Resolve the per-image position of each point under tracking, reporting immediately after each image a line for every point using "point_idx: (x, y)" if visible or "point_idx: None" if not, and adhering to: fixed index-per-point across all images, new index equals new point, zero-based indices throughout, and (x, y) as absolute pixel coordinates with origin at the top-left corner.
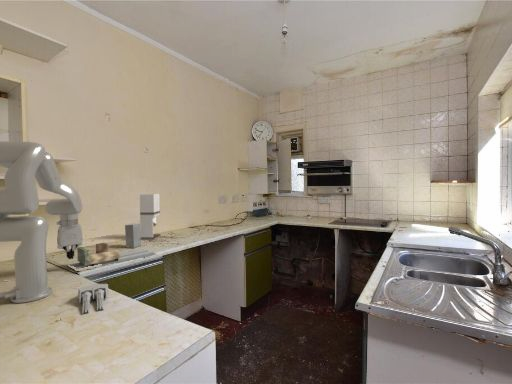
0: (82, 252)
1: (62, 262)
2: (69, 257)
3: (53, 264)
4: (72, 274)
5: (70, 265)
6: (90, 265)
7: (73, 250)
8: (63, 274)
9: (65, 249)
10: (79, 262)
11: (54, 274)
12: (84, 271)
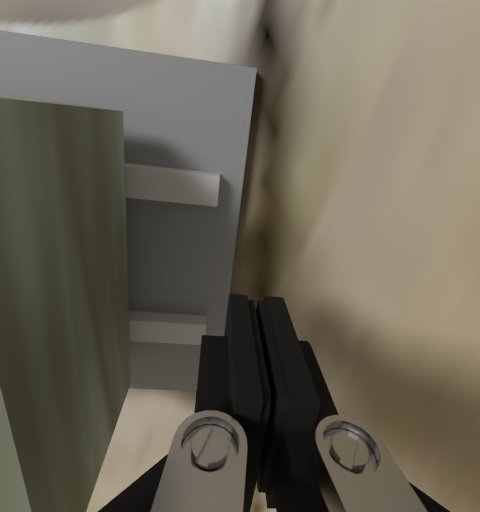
0: (40, 307)
1: None
2: (285, 319)
3: None
4: (319, 31)
5: None
6: None
7: (220, 418)
8: (366, 138)
9: (422, 508)
10: None
11: (402, 221)
12: (176, 21)
